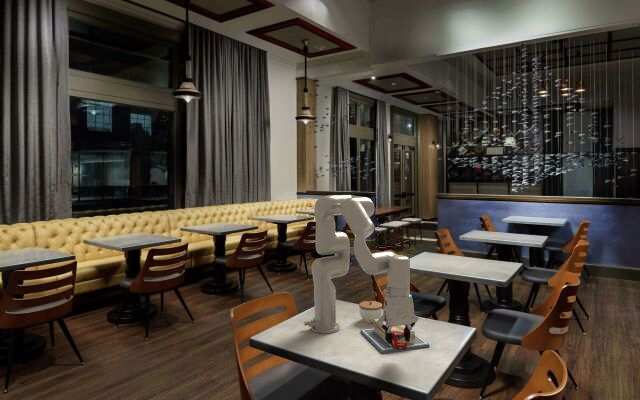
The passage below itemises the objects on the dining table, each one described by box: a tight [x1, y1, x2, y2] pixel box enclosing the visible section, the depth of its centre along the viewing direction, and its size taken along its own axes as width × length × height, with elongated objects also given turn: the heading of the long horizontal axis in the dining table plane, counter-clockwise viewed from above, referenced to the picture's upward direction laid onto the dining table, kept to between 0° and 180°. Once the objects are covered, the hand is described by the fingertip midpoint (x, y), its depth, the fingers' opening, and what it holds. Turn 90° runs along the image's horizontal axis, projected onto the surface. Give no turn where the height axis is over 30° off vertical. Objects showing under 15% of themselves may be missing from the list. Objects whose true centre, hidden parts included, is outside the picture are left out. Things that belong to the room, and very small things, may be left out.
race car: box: [391, 330, 408, 351], centre depth 135 cm, size 13×5×4 cm, turn 178°
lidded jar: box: [358, 300, 383, 324], centre depth 179 cm, size 11×11×9 cm
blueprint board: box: [359, 319, 430, 355], centre depth 157 cm, size 20×22×6 cm
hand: (397, 340), depth 135 cm, fingers closed on race car, 6 cm apart
